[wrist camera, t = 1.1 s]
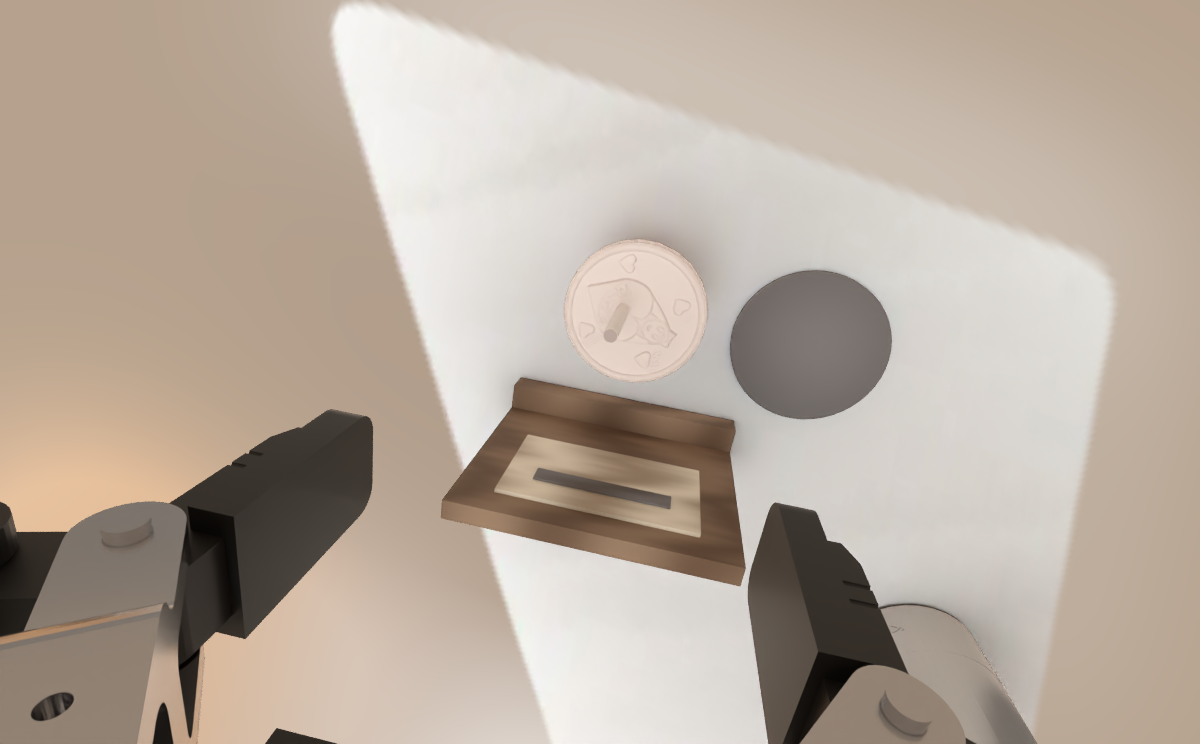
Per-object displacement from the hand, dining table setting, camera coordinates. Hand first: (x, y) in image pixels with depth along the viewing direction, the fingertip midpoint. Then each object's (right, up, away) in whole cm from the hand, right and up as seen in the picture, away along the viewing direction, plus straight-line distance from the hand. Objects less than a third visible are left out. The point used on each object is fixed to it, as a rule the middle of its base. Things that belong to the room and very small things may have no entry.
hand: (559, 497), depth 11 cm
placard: (+2, -1, +26) cm, 26 cm away
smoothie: (+4, +8, +23) cm, 25 cm away
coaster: (+13, +4, +23) cm, 27 cm away
